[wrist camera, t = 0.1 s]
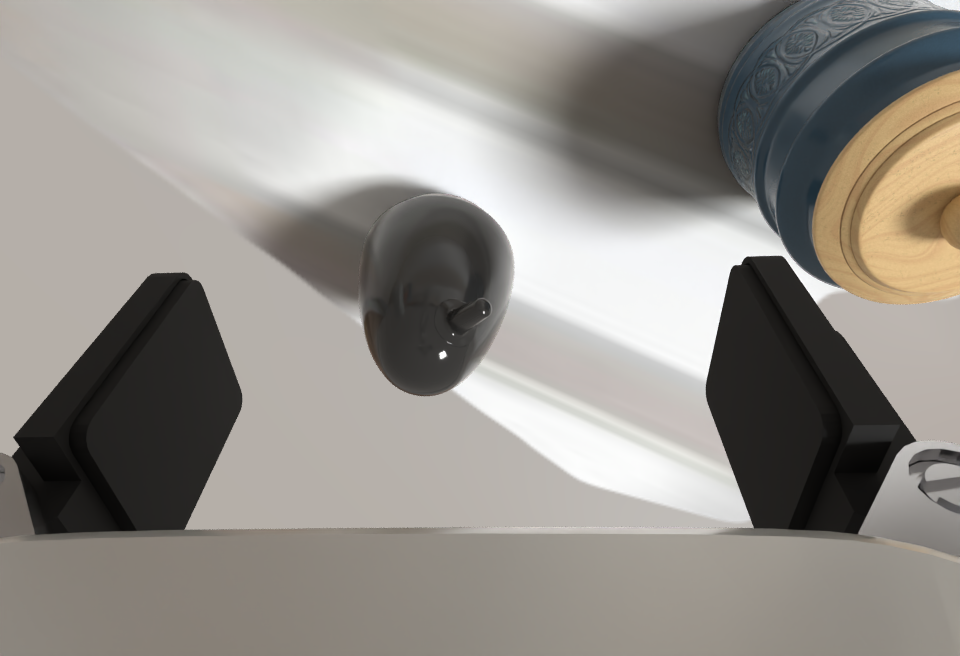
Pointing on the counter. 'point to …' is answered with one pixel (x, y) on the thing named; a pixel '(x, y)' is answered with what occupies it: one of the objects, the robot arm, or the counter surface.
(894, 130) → the canister
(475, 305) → the pump dispenser
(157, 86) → the counter surface
